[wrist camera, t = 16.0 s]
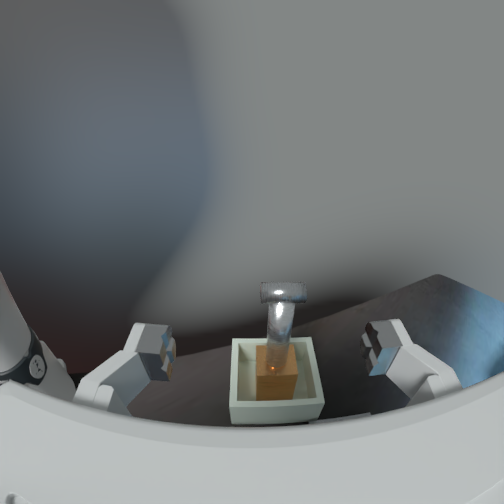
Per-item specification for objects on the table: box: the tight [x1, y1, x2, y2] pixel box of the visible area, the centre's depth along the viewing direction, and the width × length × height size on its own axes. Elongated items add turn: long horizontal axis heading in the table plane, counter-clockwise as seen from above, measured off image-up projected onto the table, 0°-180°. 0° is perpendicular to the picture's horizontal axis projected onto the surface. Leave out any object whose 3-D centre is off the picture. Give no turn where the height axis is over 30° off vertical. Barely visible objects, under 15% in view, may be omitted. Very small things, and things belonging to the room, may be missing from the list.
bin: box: [229, 337, 325, 424], centre depth 40 cm, size 13×13×6 cm
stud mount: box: [308, 412, 371, 424], centre depth 30 cm, size 10×10×8 cm
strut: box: [255, 282, 307, 401], centre depth 36 cm, size 6×6×21 cm
